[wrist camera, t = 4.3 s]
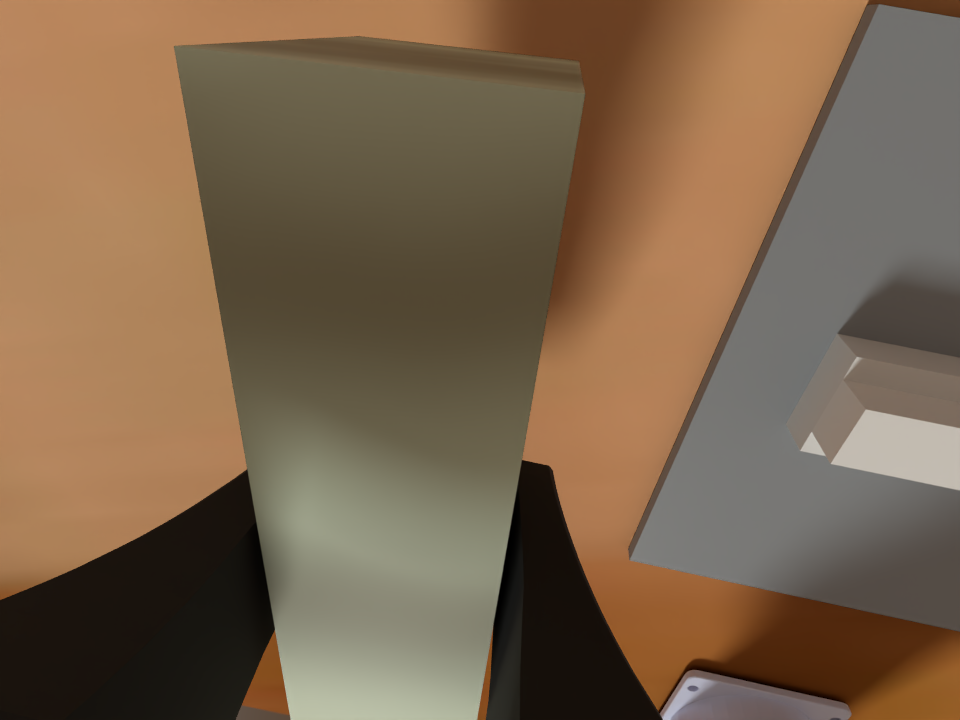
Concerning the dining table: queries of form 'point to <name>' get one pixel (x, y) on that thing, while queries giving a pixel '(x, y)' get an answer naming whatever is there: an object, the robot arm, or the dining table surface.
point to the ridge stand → (841, 358)
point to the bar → (382, 339)
